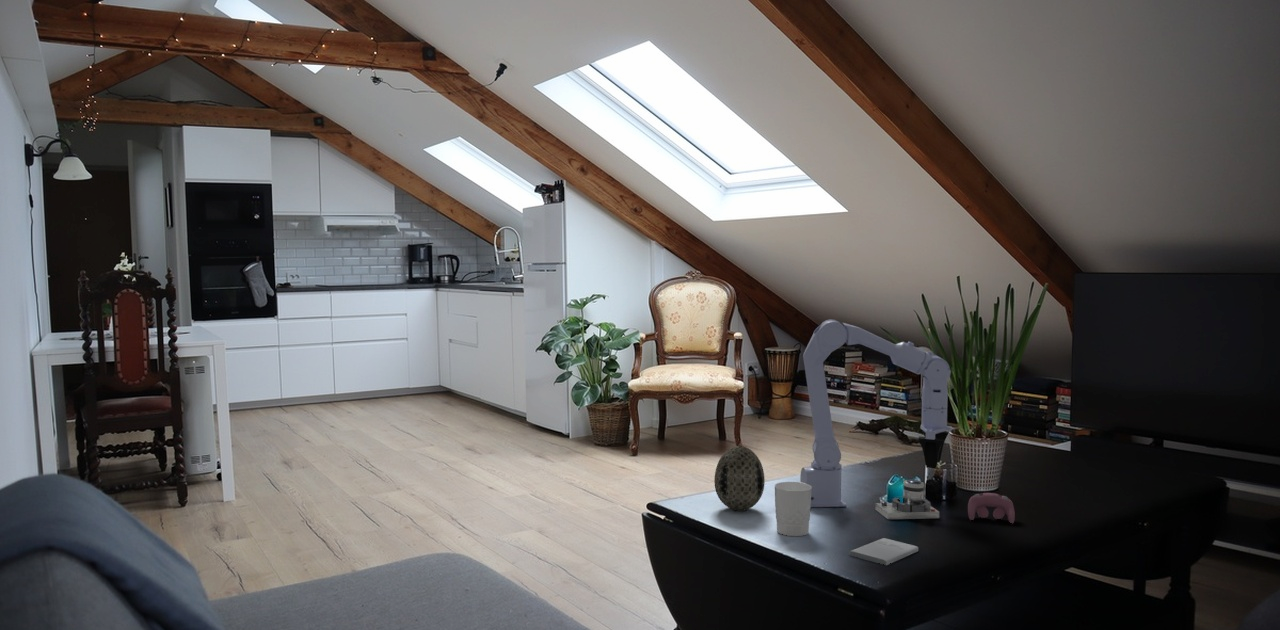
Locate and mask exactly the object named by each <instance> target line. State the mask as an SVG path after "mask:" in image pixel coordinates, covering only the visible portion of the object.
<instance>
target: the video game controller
mask: <svg viewBox="0 0 1280 630" xmlns="http://www.w3.org/2000/svg"><path fill="white" fill-rule="evenodd" d="M987 507H992V508H994V510H993V512H992V516H993V518H994V519H995V520H997V519H1001V520H1002V519H1003V518H1004V516H1005V515H1006V516H1007V521H1008V523H1009V522H1010V523H1012V524H1011V525H1013V524H1014V523H1015V520H1016V519H1015V518H1016V515H1015V514H1016V513H1015V506H1014V503H1013V501H1012V500H1011V499H1010V498H1009V497H1008V496H1007V495H1001V494H998V493H993V492H992V493H991V492H983V493H975V494H974V495H972V496H971V497H970V498H969V499H968V503H967V514H968V518H969V520H970V521H971V520H973V521H974V519H975V517H976V514H977V515H978V517H979V518H980V517H981V519H986V518H987V517H989V514H990V512H989V510H988V508H987ZM1010 523H1009V524H1010Z"/></svg>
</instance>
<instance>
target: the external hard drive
mask: <svg viewBox="0 0 1280 630" xmlns="http://www.w3.org/2000/svg"><path fill="white" fill-rule="evenodd" d="M917 552H919V546H916V545H913V544H910V543H909V544H908V543H905V542H902V541H897V540H893V539H890V538H886V537H882V538H880V539H877V540H875V541H872V542H870V543H867V544H864V545H861V546H860V547H857V548H855V549H852V550H850V551H849V556H851V557H854V558H857V557H858V558H857V559H861V560H865V561H868V562H872V563H876V564H879V563H880V565H883V564H884V565H883V566H888V565H891V564H892V563H895V562H897V561H900V560H901V559H904V558H906V557H908V556H910V555H913V554H915V553H917ZM890 563H891V564H890Z"/></svg>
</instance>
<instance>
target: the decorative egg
mask: <svg viewBox="0 0 1280 630" xmlns="http://www.w3.org/2000/svg"><path fill="white" fill-rule="evenodd" d="M714 471H715V472H714V490H715V492H716V495H717V497H718V499H719V500H720V502H721V503H722V504H723V505H724V506H725V507H727V508H729V509H731V510H734V511H742V512H743V511H746V510H749V509H751V508H753V507H754V506H756V504H758V502H759V501H760V499H761V498H762V496H763V493H764V490H765V485H766V484H765V482H766V481H765V480H766V479H765V472H764V469H763V465H762V461H761V460H760V459H759V457H758V456H757V454H756V453H755V452H754V451H753V450H752V449H750V448H749V447H746V446H743V445H736V446H732V447H730V448H729V449H727V450H726V451H725V452H724V453H723V454H722V455H721V457H720V458H719V460H718V461H717V465H716V469H715V470H714Z"/></svg>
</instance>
